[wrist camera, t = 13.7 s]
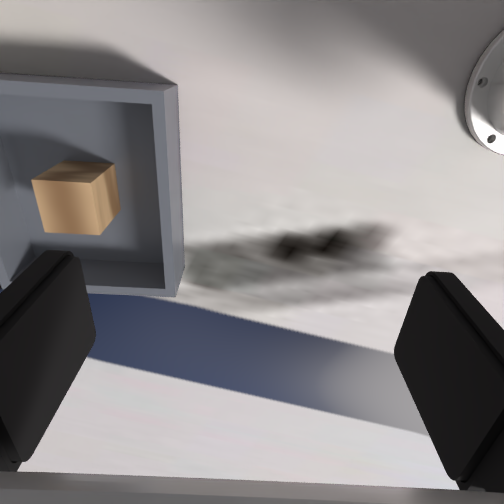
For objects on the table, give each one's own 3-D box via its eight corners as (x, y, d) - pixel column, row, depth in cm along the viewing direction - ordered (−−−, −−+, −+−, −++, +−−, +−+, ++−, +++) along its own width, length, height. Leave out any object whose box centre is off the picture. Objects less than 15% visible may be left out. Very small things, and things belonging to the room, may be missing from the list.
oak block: (114, 163, 35) (90, 183, 30) (120, 209, 37) (99, 235, 32) (63, 160, 35) (31, 179, 30) (73, 207, 37) (44, 232, 32)
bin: (177, 84, 32) (163, 91, 27) (184, 266, 42) (175, 297, 37) (-22, 71, 32) (-75, 75, 27) (33, 259, 42) (2, 288, 36)
